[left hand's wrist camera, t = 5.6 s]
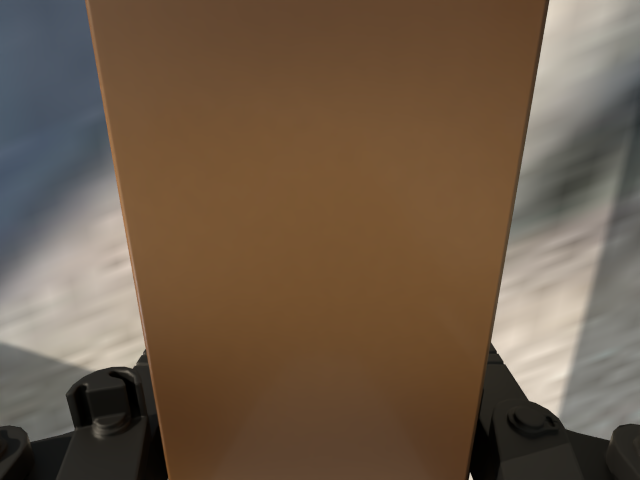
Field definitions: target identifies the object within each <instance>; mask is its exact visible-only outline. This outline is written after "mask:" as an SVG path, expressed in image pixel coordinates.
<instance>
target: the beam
mask: <svg viewBox="0 0 640 480" xmlns="http://www.w3.org/2000/svg"><path fill="white" fill-rule="evenodd" d="M85 2H86V8H87V14H88V20H89V25H90V31H91V37H92V43H93V48H94V54H95V60H96V66H97V71H98V77H99V83H100V88H101V94H102V100H103V106H104V111H105V117H106V123H107V129H108V134H109V140H110V146H111V152H112V157H113V163H114V169H115V174H116V180H117V186H118V192H119V197H120V203H121V209H122V215H123V220H124V226H125V232H126V238H127V243H128V249H129V255H130V260H131V266H132V272H133V278H134V283H135V289H136V295H137V301H138V306H139V312H140V318H141V324H142V329H143V335H144V341H145V346H146V352H147V358H148V364H149V369H150V375H151V381H152V387H153V392H154V398H155V404H156V410H157V415H158V421H159V427H160V432H161V438H162V444H163V450H164V455H165V461H166V467H167V473H168V478H169V480H467V478H468V472H469V466H470V461H471V455H472V449H473V443H474V437H475V431H476V426H477V420H478V414H479V408H480V402H481V396H482V391H483V385H484V379H485V373H486V367H487V361H488V355H489V350H490V344H491V338H492V332H493V326H494V320H495V315H496V309H497V303H498V297H499V291H500V285H501V280H502V274H503V268H504V262H505V256H506V250H507V244H508V239H509V233H510V227H511V221H512V215H513V209H514V204H515V198H516V192H517V186H518V180H519V174H520V169H521V163H522V157H523V151H524V145H525V139H526V134H527V128H528V122H529V116H530V110H531V104H532V98H533V93H534V87H535V81H536V75H537V69H538V63H539V58H540V52H541V46H542V40H543V34H544V28H545V23H546V17H547V11H548V5H549V0H85Z"/></svg>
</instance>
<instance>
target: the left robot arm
mask: <svg viewBox="0 0 640 480" xmlns="http://www.w3.org/2000/svg"><path fill="white" fill-rule="evenodd" d="M66 397H67V401H68V405H69V409H70V412H71V416H72V420H73V424H74V427H75V430H74V431H73V432H69V433H66V434H63V435H59V436H55V437H51V438H46V439H42V440H38V441H34V442H30V441H29V438H28V435H27V433H26V432H25V431H24V430H23V429H22V428H21V427H15V426H3V427H0V480H167V479H168V473H167V467H166V461H165V455H164V450H163V444H162V438H161V432H160V427H159V421H158V415H157V410H156V404H155V398H154V392H153V387H152V381H151V375H150V369H149V364H148V358H147V352H146V349H145V351H144V352H143V355H142V356H141V357H140V359H139V360H138V362H137V365H136V366H134V368H133V369H131V368H127V367H110V368H106V369H102V370H98V371H95V372H93V373H91V374H89V375H87V376H85V377H83V378H82V379H80V380H79V381H78V382H76V383H75V384H74V385H72V387H71V388H70V390H69V391H68V392H67V394H66ZM470 473H471V475H472V478H473V480H640V425H636V424H626V425H621V426H619V427H617V428H616V429H615V430H614V431H613V434H612V437H611V440H610V441H609V440H605V439H601V438H597V437H592V436H588V435H584V434H580V433H576V432H573V431H570V430H566V429H565V428H564V426H563V424H562V423H561V421H560V420H559V418H558V417H556V416H555V415H554V414H553V413H552V412H550V411H549V410H548V409H546V408H544V407H542V406H540V405H538V404H537V403H534V402H530V401H529V400H528V399H527V397H526V396H525V394H524V393H523V391H522V389H521V388H520V386H519V385H518V383H517V382H516V380H515V379H514V377H513V376H512V374H511V373H510V371H509V369H508V368H507V366H506V365H505V364H504V363H503V360H502V359H501V357H500V356H499V354H497V351H496V350H495V348H494V346H493V345H492V343H491V344H490V350H489V355H488V361H487V367H486V373H485V379H484V385H483V391H482V396H481V402H480V408H479V414H478V420H477V426H476V431H475V437H474V443H473V449H472V455H471V461H470V466H469V472H468V478H467V480H469V475H470Z"/></svg>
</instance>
